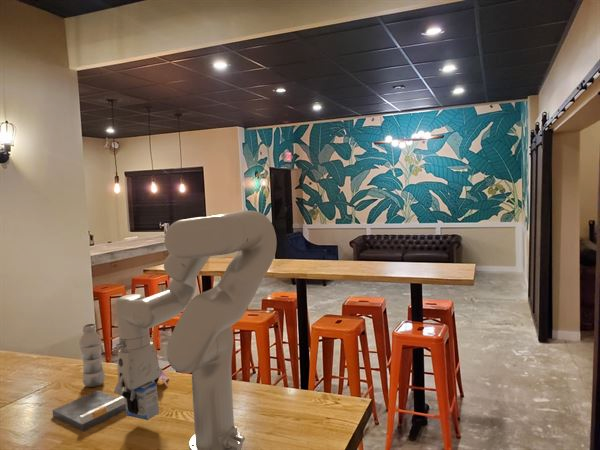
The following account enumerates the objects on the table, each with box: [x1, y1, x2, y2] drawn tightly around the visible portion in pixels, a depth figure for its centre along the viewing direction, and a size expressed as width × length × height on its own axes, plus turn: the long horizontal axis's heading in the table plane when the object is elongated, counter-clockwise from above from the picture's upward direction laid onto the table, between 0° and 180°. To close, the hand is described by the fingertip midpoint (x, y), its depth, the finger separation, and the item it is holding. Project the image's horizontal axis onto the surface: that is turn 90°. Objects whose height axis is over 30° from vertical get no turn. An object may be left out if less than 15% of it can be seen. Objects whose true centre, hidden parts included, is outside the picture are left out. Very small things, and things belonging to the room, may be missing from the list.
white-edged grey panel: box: [51, 390, 126, 432], centre depth 132 cm, size 15×14×4 cm
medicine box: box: [123, 382, 160, 421], centre depth 124 cm, size 8×4×9 cm, turn 62°
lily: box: [159, 366, 170, 388], centre depth 149 cm, size 12×12×10 cm
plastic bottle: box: [79, 323, 106, 388], centre depth 150 cm, size 6×7×20 cm
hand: (142, 407), depth 124 cm, fingers closed on medicine box, 4 cm apart
